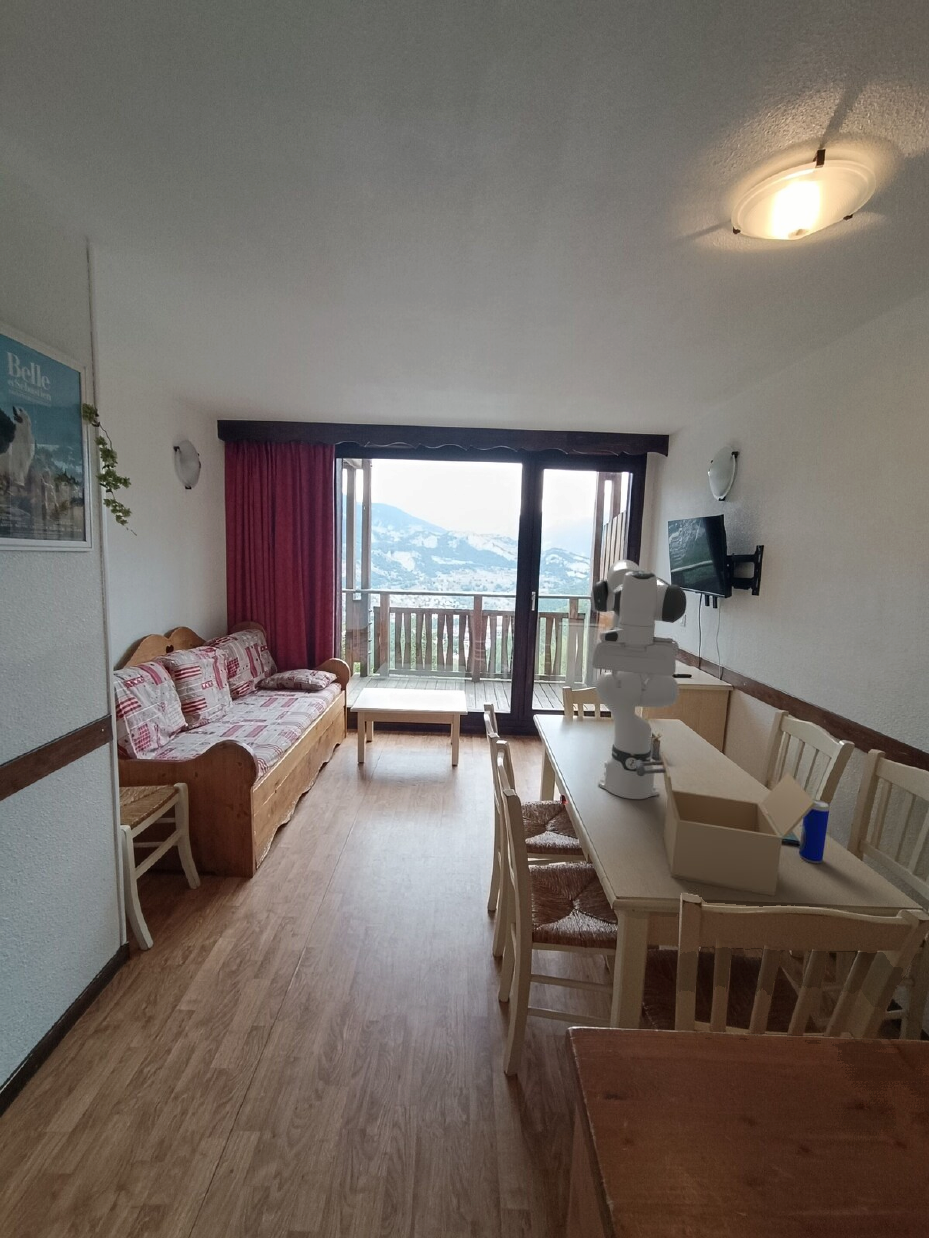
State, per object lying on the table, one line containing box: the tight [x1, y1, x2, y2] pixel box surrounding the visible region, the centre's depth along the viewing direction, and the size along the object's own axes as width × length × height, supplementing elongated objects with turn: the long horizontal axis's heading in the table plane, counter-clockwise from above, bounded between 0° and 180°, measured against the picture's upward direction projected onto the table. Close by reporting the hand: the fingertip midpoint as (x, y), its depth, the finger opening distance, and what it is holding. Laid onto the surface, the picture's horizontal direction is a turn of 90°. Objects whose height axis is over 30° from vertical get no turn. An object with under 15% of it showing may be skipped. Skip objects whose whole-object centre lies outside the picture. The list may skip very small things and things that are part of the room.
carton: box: [663, 789, 783, 897], centre depth 131 cm, size 18×22×14 cm
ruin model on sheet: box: [650, 732, 663, 760], centre depth 207 cm, size 11×3×10 cm, turn 178°
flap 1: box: [635, 751, 676, 819], centre depth 133 cm, size 17×10×7 cm
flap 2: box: [760, 772, 816, 838], centre depth 126 cm, size 17×10×1 cm
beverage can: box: [798, 798, 830, 864], centre depth 136 cm, size 5×5×15 cm
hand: (630, 688), depth 136 cm, fingers open, 5 cm apart
